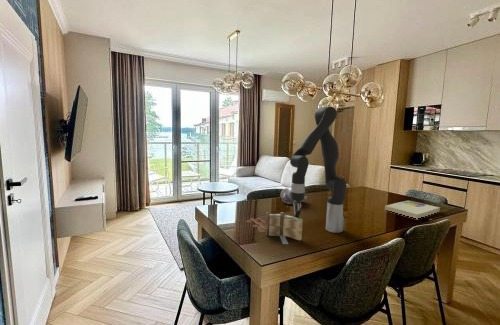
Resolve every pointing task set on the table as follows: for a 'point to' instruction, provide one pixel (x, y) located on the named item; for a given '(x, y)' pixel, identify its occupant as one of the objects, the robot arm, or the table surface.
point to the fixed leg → (274, 223)
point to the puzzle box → (412, 209)
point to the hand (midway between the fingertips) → (296, 220)
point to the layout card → (281, 238)
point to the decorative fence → (259, 223)
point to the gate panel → (292, 227)
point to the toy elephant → (287, 196)
